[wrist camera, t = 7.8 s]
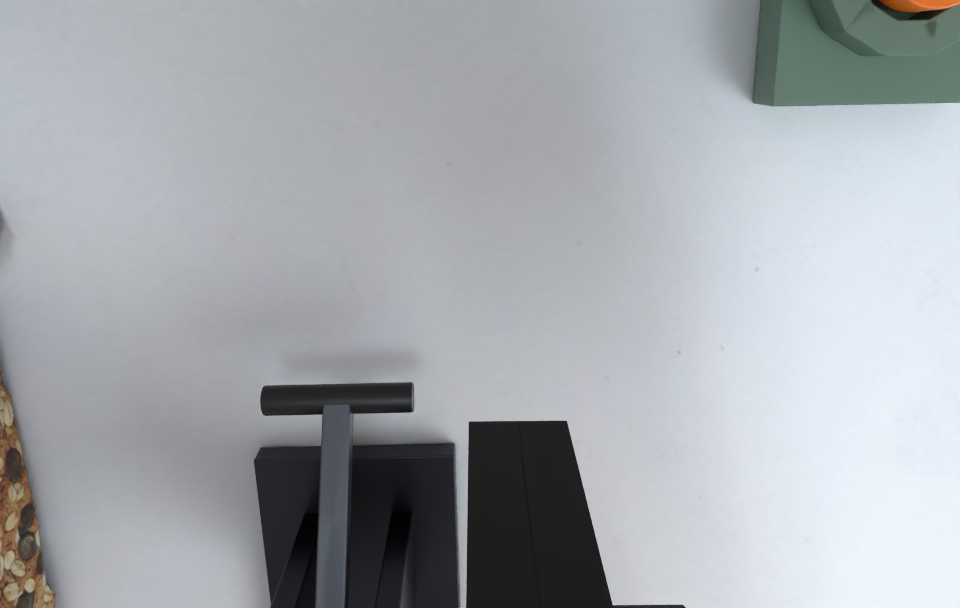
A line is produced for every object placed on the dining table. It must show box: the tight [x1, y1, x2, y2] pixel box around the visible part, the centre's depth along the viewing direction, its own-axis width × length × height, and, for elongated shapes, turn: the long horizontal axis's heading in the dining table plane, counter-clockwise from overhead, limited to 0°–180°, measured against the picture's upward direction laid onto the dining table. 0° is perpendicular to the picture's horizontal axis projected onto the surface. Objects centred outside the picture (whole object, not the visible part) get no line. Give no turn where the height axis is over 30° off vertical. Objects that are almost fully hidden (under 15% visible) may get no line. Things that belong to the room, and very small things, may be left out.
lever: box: [260, 382, 414, 608], centre depth 30 cm, size 13×6×2 cm
